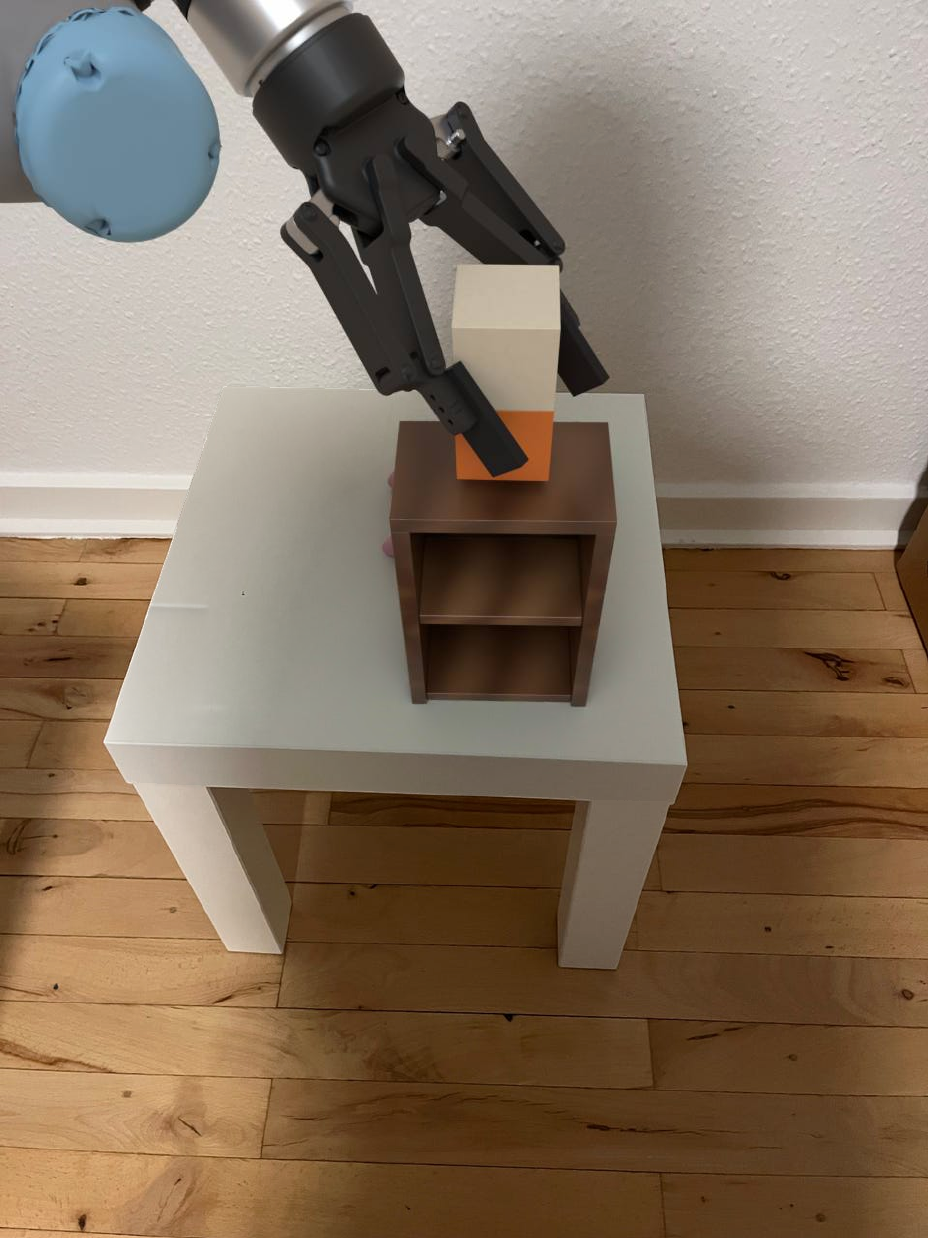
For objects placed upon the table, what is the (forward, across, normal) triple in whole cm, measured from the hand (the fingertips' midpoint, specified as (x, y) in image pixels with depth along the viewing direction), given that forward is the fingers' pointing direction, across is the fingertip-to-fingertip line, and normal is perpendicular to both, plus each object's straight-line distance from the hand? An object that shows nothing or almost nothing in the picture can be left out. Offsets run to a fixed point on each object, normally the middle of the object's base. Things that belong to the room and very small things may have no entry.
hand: (552, 426), depth 54 cm
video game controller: (+6, +8, +33) cm, 34 cm away
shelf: (+17, 0, +22) cm, 28 cm away
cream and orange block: (0, 0, +5) cm, 5 cm away
